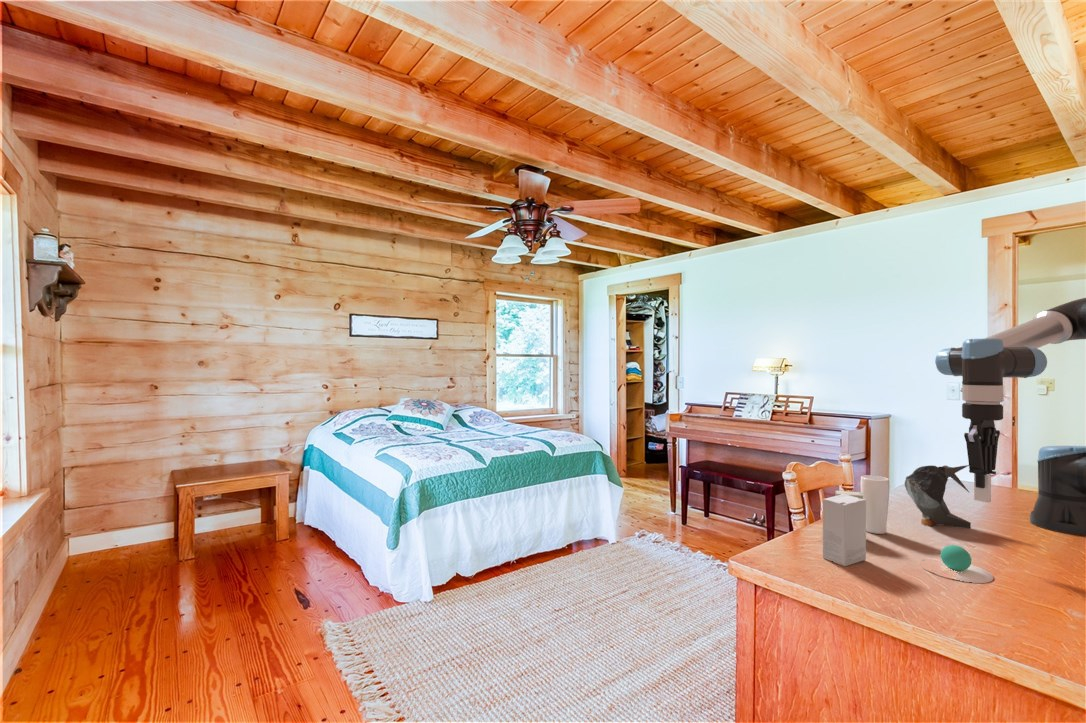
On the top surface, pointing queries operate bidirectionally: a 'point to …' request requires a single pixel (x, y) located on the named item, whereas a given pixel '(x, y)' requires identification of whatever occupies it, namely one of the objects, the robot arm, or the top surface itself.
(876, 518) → the drinking glass
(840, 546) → the skincare box
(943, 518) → the bird figurine
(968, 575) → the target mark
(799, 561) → the top surface
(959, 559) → the ball
